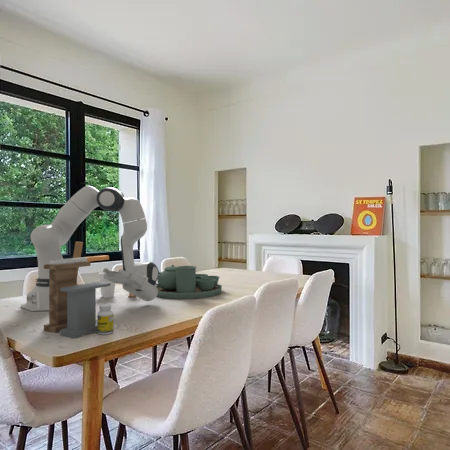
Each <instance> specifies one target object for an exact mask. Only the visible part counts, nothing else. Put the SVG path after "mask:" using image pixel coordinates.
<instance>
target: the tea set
mask: <svg viewBox="0 0 450 450" xmlns="http://www.w3.org/2000/svg"><path fill="white" fill-rule="evenodd" d="M196 271H197V265H195V266H194V265H178V266H176V265H174V264H171V266H166V267H164V270H163V271H159V276H158V279H157V282H156V285H157V288H158V295H157V297H160V298H163V299H174V300H188V299H189V300H194V299H203V298H211V297H215V296H218V295H220V294H222V284H219V280H220V276H218V275H209V274H207V273H197V272H196Z"/></svg>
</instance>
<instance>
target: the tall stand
mask: <svg viewBox="0 0 450 450" xmlns="http://www.w3.org/2000/svg"><path fill="white" fill-rule="evenodd" d="M91 263H92V261H89V262H79V263H69V264H59V265H50V264H45V265H44V269H49V310H48V316H49V320H48V321H49V323H46V324H43V331H46V332H50V333H53V334H57V333H60V330H61V329H65V328H67V292H66V291H60V288H63V287H69V286H75V285H77V284H78V275H77V267H79V268H83V267H90V266H91Z"/></svg>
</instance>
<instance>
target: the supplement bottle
mask: <svg viewBox="0 0 450 450" xmlns="http://www.w3.org/2000/svg"><path fill="white" fill-rule="evenodd" d="M96 317H97V318H96V320H97V331H96V332H97V334H98V335H103V336H104V335H105V336H106V335H111V334H112V333H114V312H113V310H112V305H111V303H110V304H109V303H104V304H100V305H99V311H98V312H97V316H96Z"/></svg>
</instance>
